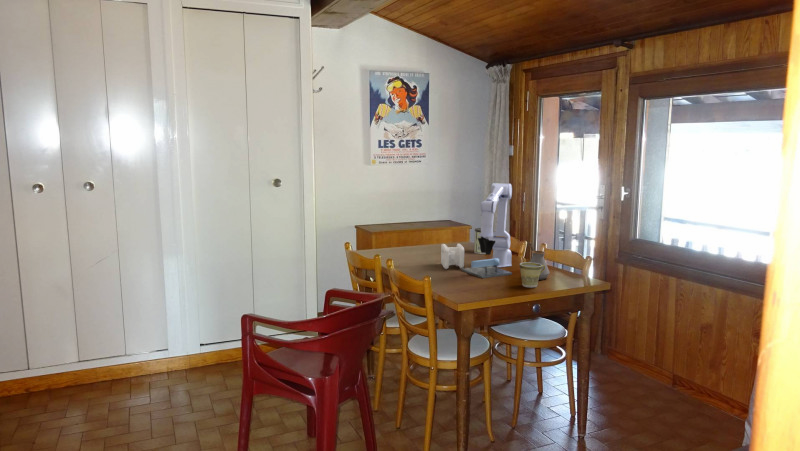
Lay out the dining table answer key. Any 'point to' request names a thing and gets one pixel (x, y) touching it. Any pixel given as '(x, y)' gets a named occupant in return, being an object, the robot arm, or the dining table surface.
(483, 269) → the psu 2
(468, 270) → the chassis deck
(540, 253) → the coffee pot
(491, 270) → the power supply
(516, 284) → the dining table surface
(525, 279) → the ceramic cup
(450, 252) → the cable organizer
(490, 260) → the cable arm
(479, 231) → the coffee can
